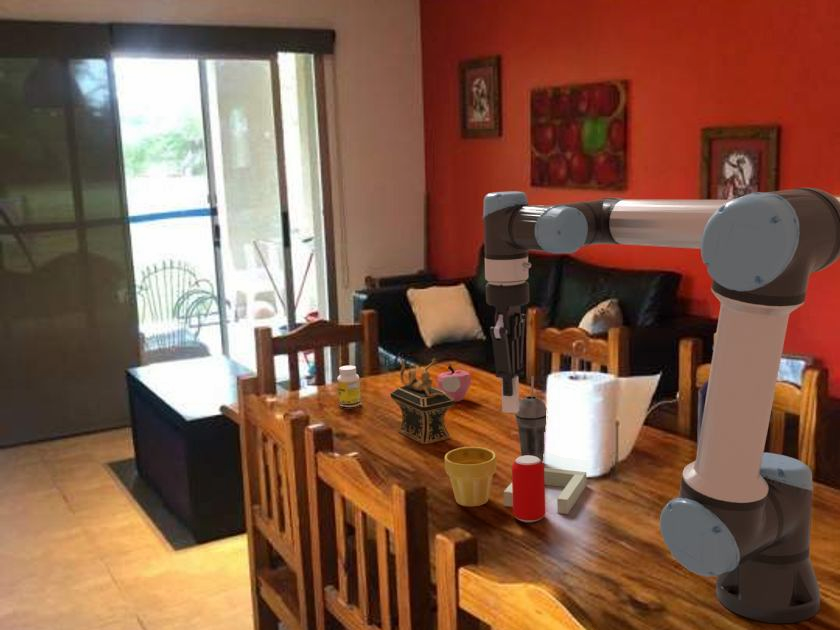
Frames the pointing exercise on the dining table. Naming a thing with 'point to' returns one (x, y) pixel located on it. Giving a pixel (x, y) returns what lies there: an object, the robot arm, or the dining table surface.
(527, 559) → the dining table surface
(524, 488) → the beverage can
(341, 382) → the pill bottle
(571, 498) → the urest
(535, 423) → the beverage cup
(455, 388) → the apple
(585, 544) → the dining table surface
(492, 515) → the dining table surface
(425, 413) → the decorative box
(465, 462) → the plant pot
